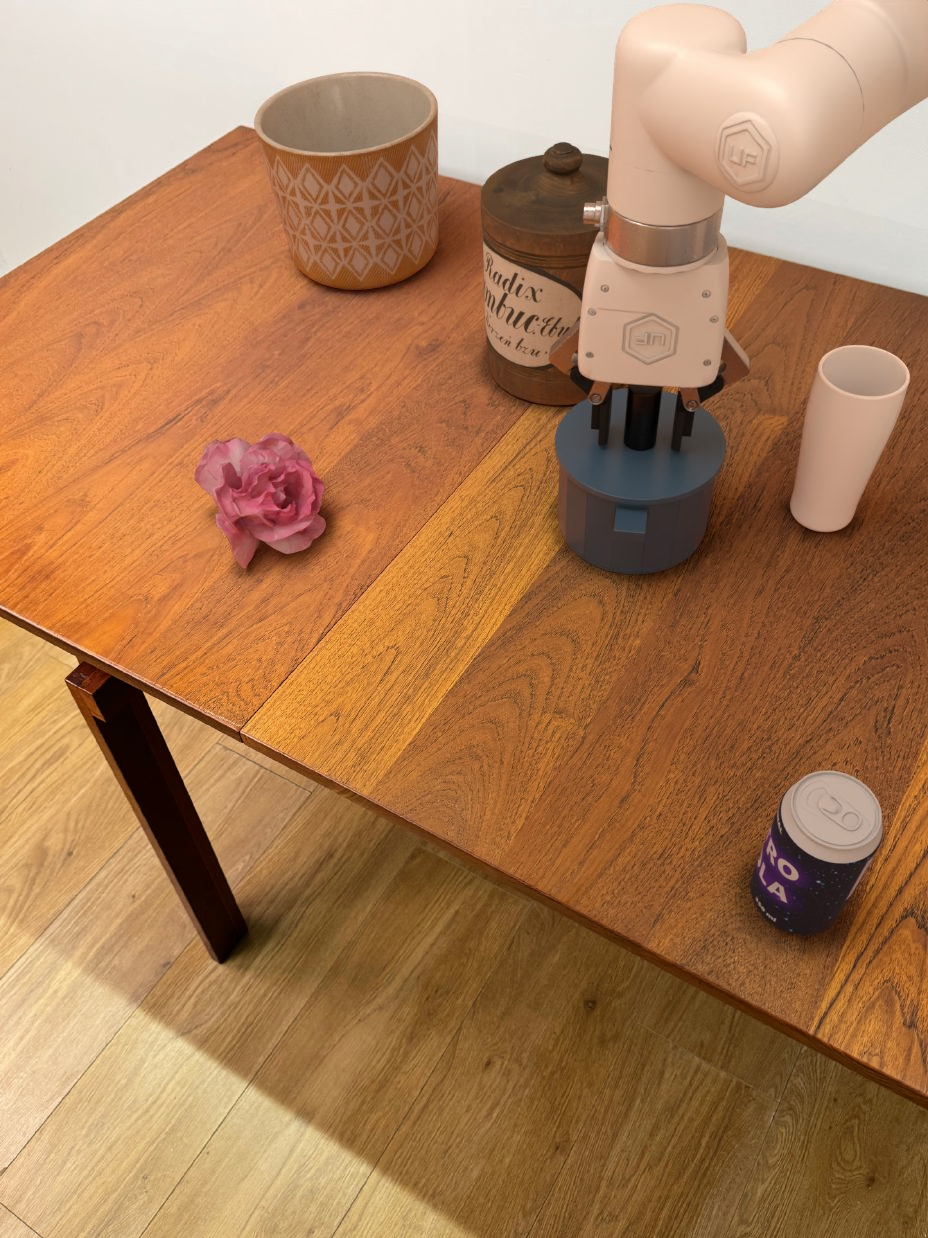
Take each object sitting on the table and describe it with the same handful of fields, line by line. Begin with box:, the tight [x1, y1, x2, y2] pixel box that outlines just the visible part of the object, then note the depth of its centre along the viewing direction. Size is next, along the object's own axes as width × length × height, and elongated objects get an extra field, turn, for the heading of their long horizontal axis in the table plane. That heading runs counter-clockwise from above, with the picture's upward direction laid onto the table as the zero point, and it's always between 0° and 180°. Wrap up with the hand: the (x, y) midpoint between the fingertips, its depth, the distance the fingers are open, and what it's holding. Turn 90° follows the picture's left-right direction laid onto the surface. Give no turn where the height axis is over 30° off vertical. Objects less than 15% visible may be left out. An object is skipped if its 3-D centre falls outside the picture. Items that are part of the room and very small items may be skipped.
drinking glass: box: [789, 344, 911, 533], centre depth 80 cm, size 7×7×15 cm
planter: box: [253, 71, 440, 291], centre depth 111 cm, size 19×19×16 cm
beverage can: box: [750, 770, 884, 936], centre depth 60 cm, size 6×6×12 cm
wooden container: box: [479, 141, 622, 406], centre depth 93 cm, size 15×15×22 cm
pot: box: [557, 464, 717, 576], centre depth 84 cm, size 13×18×8 cm
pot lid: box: [554, 384, 727, 505], centre depth 78 cm, size 14×14×7 cm
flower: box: [194, 432, 327, 569], centre depth 86 cm, size 11×10×10 cm
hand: (640, 435), depth 80 cm, fingers open, 5 cm apart
